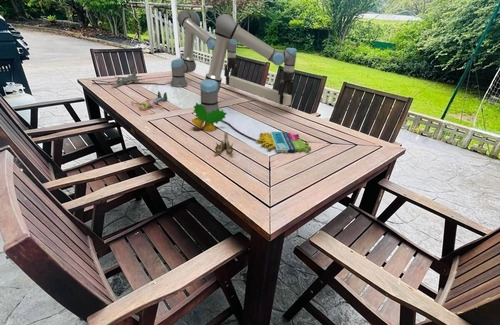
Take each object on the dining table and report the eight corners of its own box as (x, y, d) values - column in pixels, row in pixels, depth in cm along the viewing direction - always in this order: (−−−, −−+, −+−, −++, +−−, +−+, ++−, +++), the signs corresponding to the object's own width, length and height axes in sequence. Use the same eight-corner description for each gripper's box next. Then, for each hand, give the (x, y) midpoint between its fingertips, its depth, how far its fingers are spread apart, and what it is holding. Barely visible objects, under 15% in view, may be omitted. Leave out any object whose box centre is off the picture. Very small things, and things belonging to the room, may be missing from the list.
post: (290, 104, 196) (292, 95, 193) (285, 106, 193) (286, 96, 189) (230, 83, 247) (231, 75, 243) (225, 83, 243) (225, 75, 240)
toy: (179, 93, 205) (158, 103, 179) (179, 102, 208) (159, 113, 183) (147, 89, 210) (122, 98, 184) (148, 98, 213) (124, 108, 188)
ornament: (218, 133, 171) (224, 110, 169) (221, 134, 163) (227, 111, 161) (186, 125, 162) (192, 101, 160) (189, 126, 155) (195, 101, 153)
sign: (313, 150, 142) (258, 149, 139) (312, 153, 143) (258, 152, 140) (301, 132, 164) (254, 130, 161) (301, 134, 165) (254, 133, 162)
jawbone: (234, 135, 144) (233, 125, 135) (233, 160, 138) (232, 151, 129) (217, 135, 144) (216, 125, 135) (216, 160, 138) (214, 150, 129)
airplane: (108, 79, 258) (106, 69, 253) (142, 77, 271) (140, 67, 266) (110, 89, 230) (108, 78, 224) (148, 87, 243) (146, 76, 238)
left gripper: (237, 56, 239) (236, 82, 250) (220, 57, 228) (219, 83, 239) (242, 57, 234) (241, 83, 245) (225, 58, 223) (224, 85, 234)
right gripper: (293, 69, 194) (288, 100, 205) (275, 71, 183) (271, 103, 194) (301, 71, 189) (296, 103, 200) (283, 73, 178) (278, 106, 189)
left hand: (230, 83), depth 242 cm, fingers closed on post, 6 cm apart
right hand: (284, 103), depth 197 cm, fingers closed on post, 6 cm apart
